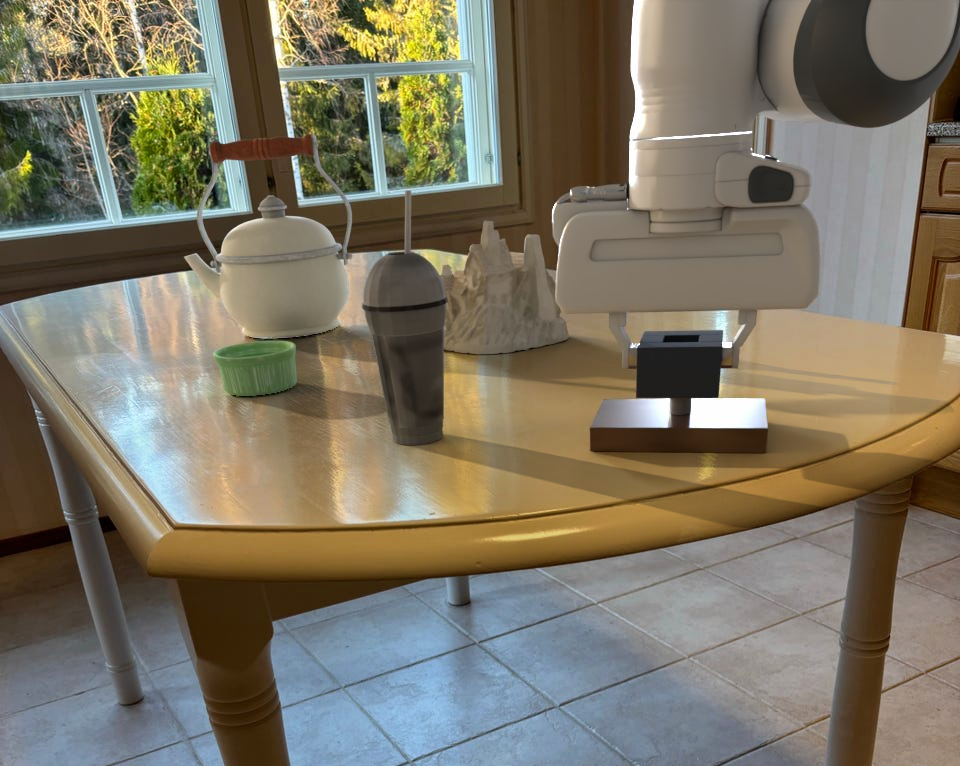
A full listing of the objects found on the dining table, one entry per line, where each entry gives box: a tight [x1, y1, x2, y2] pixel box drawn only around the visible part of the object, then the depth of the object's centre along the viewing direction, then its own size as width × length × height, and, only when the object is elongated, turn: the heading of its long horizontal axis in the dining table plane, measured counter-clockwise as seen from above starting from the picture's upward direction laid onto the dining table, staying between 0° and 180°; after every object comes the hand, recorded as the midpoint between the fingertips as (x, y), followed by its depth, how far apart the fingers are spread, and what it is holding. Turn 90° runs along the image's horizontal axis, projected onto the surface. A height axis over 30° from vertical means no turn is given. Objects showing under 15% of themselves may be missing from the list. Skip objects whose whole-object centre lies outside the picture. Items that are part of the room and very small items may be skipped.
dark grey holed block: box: [635, 329, 724, 399], centre depth 76 cm, size 6×6×4 cm
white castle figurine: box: [439, 220, 570, 356], centre depth 116 cm, size 16×16×15 cm
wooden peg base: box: [589, 397, 769, 454], centre depth 78 cm, size 14×9×5 cm, turn 76°
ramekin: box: [212, 340, 298, 397], centre depth 103 cm, size 9×9×4 cm
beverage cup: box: [361, 190, 448, 446], centre depth 79 cm, size 7×7×20 cm
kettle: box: [183, 133, 353, 338], centre depth 130 cm, size 25×18×25 cm
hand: (680, 367), depth 76 cm, fingers closed on dark grey holed block, 6 cm apart
